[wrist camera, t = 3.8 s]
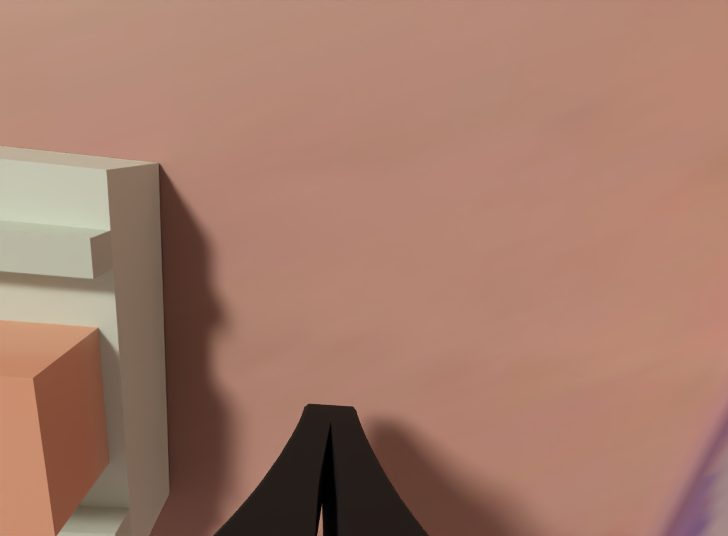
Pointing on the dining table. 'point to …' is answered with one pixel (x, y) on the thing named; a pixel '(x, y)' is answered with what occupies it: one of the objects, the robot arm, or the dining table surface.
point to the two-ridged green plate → (96, 307)
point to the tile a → (48, 424)
